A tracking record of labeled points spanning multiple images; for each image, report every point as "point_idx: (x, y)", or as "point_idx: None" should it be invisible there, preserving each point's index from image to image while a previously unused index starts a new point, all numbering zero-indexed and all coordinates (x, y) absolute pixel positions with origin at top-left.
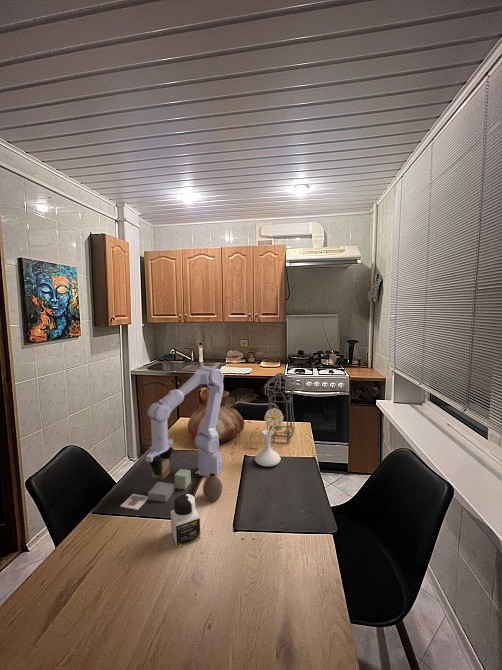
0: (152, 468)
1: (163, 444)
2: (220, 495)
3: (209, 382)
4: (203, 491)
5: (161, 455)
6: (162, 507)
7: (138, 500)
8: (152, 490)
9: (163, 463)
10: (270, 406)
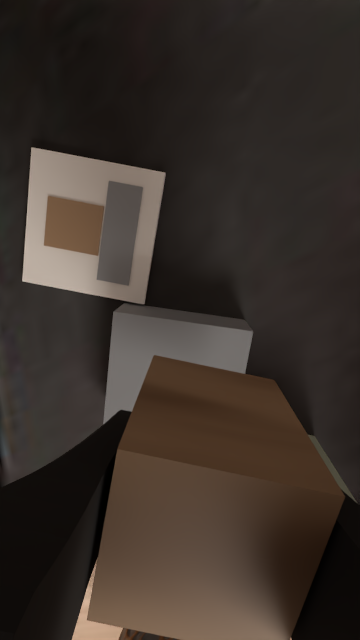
0: (77, 446)
1: None
2: None
3: None
4: (135, 636)
5: (354, 591)
6: (70, 407)
7: (95, 250)
8: (142, 333)
9: (130, 623)
10: None
